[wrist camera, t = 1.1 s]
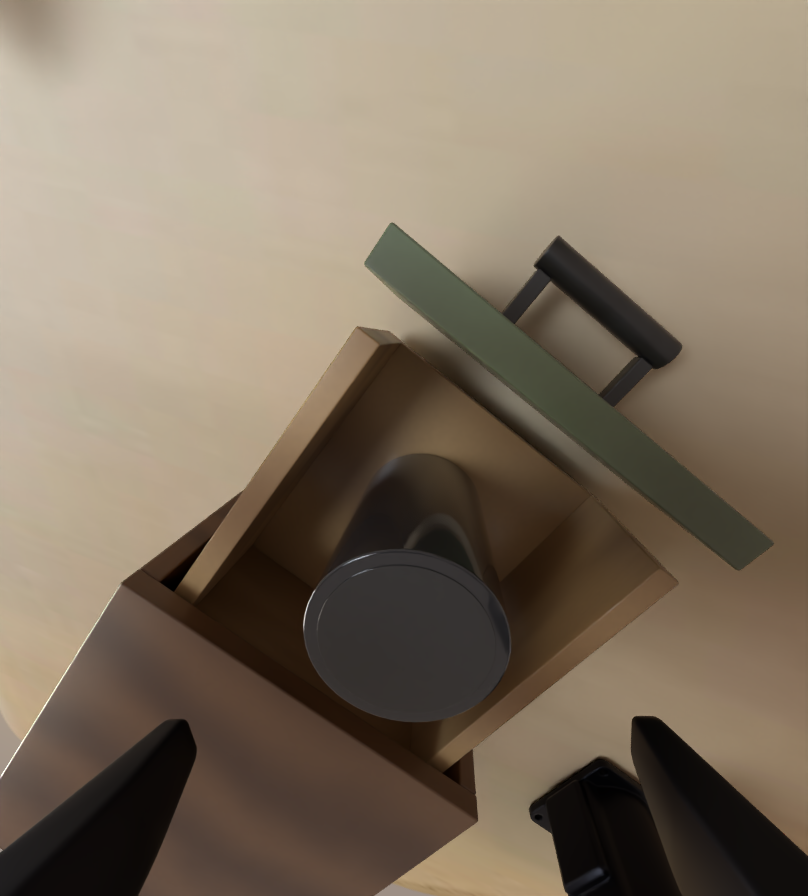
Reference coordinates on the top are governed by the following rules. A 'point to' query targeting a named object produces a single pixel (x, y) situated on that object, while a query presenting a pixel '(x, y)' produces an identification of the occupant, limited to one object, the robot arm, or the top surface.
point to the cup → (411, 598)
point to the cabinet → (234, 754)
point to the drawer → (491, 470)
